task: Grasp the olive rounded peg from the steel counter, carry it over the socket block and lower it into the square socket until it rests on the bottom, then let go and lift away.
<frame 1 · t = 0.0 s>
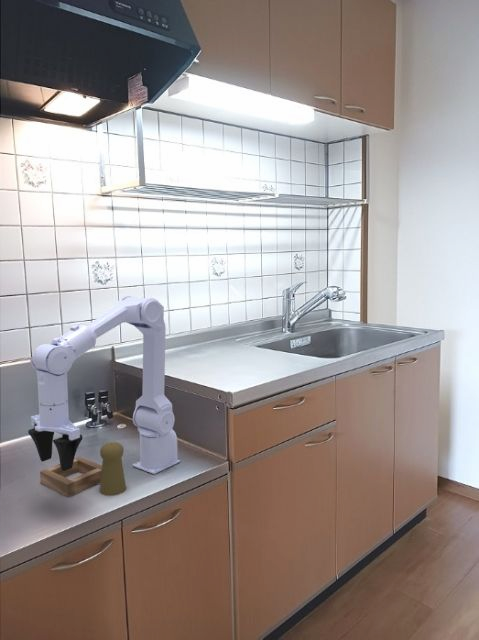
hand: (56, 464, 105), 10 cm above the countertop, tool pointing down, fingers open, 7 cm apart
olive rounded peg: (113, 490, 115), on the countertop
socket block: (74, 481, 119), on the countertop
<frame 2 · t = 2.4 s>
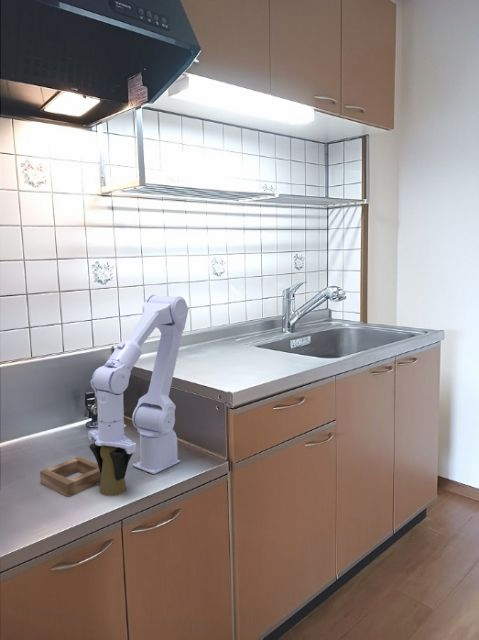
hand: (112, 475, 115), 3 cm above the countertop, tool pointing down, fingers closed on olive rounded peg, 5 cm apart
olive rounded peg: (113, 490, 115), on the countertop, touching gripper
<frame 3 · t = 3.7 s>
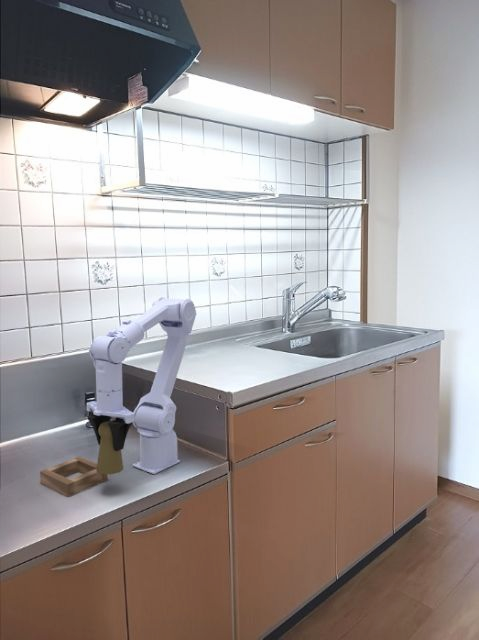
hand: (110, 446, 114), 10 cm above the countertop, tool pointing down, fingers closed on olive rounded peg, 5 cm apart
olive rounded peg: (109, 470, 114), point 5 cm above the countertop, touching gripper
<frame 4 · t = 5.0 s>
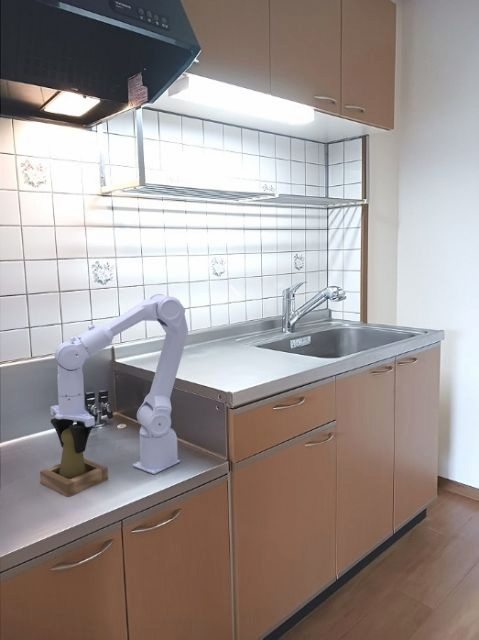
hand: (73, 449, 118), 8 cm above the countertop, tool pointing down, fingers closed on olive rounded peg, 5 cm apart
olive rounded peg: (72, 474, 119), point 2 cm above the countertop, touching gripper
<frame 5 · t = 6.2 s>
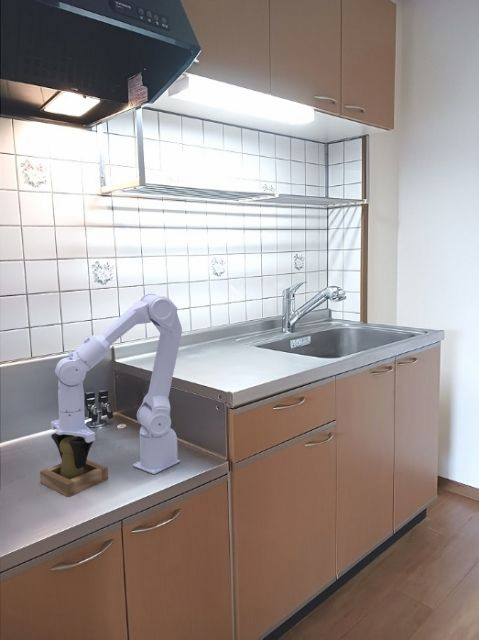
hand: (73, 463, 119), 4 cm above the countertop, tool pointing down, fingers closed on olive rounded peg, 5 cm apart
olive rounded peg: (72, 483, 119), resting in socket block, touching gripper
when the fingers open (4 cm above the countertop, at t = 6.7 s): olive rounded peg stays where it is, resting in socket block.
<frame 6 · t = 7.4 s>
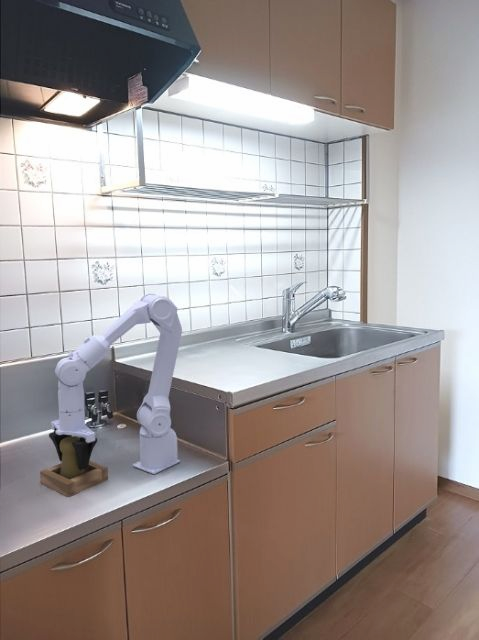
hand: (73, 463, 119), 4 cm above the countertop, tool pointing down, fingers open, 7 cm apart
olive rounded peg: (72, 483, 119), resting in socket block
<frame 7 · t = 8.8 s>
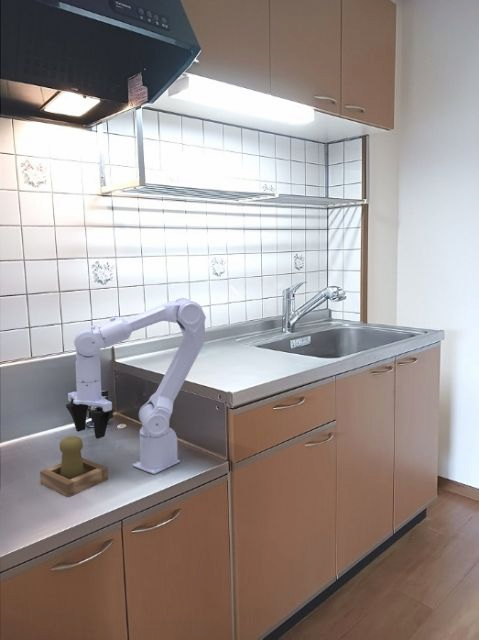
hand: (90, 433, 122), 10 cm above the countertop, tool pointing down, fingers open, 7 cm apart
nothing on the countertop moved.
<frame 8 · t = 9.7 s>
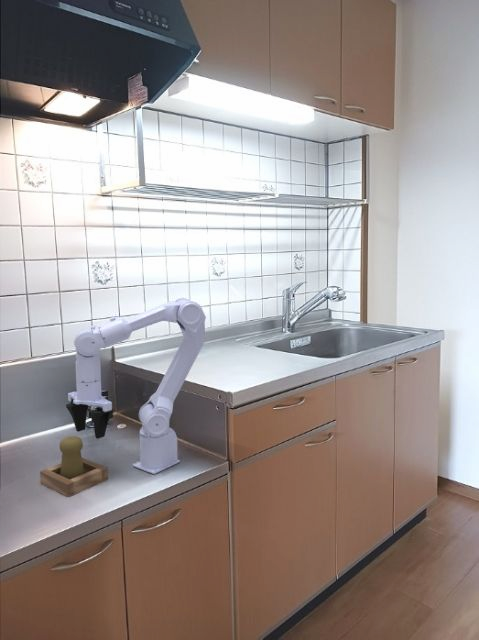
hand: (90, 433, 122), 10 cm above the countertop, tool pointing down, fingers open, 7 cm apart
nothing on the countertop moved.
at the end: olive rounded peg 0.5 cm from the socket block (horizontally); olive rounded peg resting in socket block; olive rounded peg tilted 0° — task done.
